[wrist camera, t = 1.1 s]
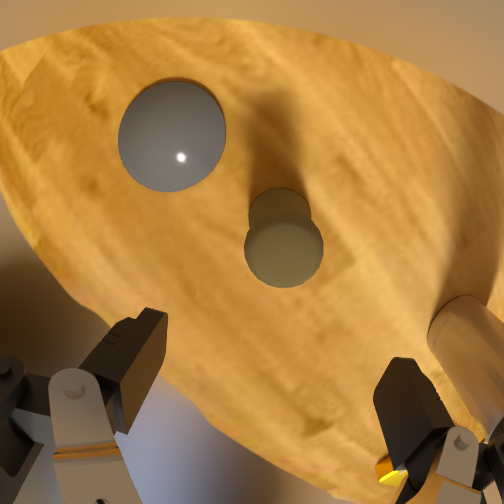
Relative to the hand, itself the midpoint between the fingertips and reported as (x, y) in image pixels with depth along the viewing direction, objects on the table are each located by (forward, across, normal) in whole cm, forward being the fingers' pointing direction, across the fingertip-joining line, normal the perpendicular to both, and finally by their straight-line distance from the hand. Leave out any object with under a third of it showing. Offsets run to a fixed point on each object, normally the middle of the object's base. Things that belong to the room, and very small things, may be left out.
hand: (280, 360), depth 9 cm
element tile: (+21, -39, +37) cm, 58 cm away
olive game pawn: (+20, 0, -1) cm, 20 cm away
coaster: (+20, +12, -7) cm, 24 cm away
